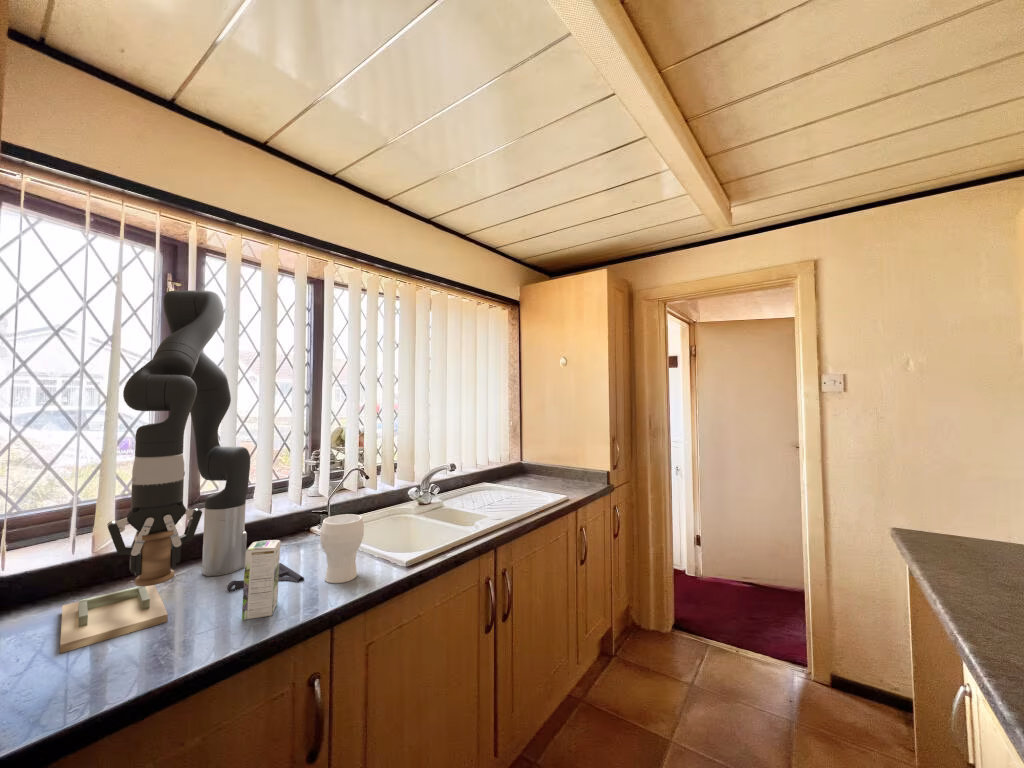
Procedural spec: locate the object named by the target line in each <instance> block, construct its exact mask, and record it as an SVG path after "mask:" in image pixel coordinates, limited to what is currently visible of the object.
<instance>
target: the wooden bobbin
mask: <svg viewBox="0 0 1024 768" xmlns="http://www.w3.org/2000/svg"><path fill="white" fill-rule="evenodd" d="M173 533H174V531H173V530H172V531H169V532H168V531H164V532H158V533H153V534H148V535H147V536H144V535H142V541H145V542H144V543H143V546H142V548H141V550H140V554H141V574H140V575H137V577H135V579H134V585H135V587H137V586H151V585H155V586H156V585H160V584H163V583H165V582H168V581H170V580H172V579H173V578H174V577H175V570H174V569H172V567H171V550H172V541H171V538H170V536H172V535H173ZM138 535H139V533H138V534H137V537H138Z"/></svg>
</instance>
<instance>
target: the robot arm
mask: <svg viewBox="0 0 1024 768" xmlns="http://www.w3.org/2000/svg"><path fill="white" fill-rule="evenodd" d="M222 301H223V300H221V297H220V296H219V295H218V294H217V292H214V291H211V290H168V291H167V292H165V294H164V297H163V309H164V310H163V311H164V314H165V318H166V322H167V325H168V328H169V331H170V334H169V335H168V336H167V337H165V339H163V340H162V342H161V343H160V344H159V345H158V348H157V350H156V351H155V354H153V357H152V359H151V360H150V361H148V362H147V363H146V364H145V365H143V366H142V367H140V368H139V369H138V370H137V371H135V372H134V373H133V374H132V375H131V376H130V378H129V379H128V380H127V381H126V383H125V385H124V389H123V393H122V396H123V397H122V398H123V401H124V403H125V405H127V406H128V407H129V409H132V410H134V411H138V412H170V414H169V416H168V417H167V418H166V419H165V420H163V421H159V422H155V423H154V422H153V423H148V424H144V425H141V426H139V427H138V428H137V429H136V431H135V439H134V441H135V443H134V459H133V465H132V474H131V492H130V493H131V497H130V510H129V512H128V514H127V515H126V517H124V518H122V519H118V520H116V521H115V520H111V521H109V522H108V523H107V530H108V533H109V535H110V538H111V540H112V543H113V545H114V547H115V550H116V553H117V555H119V556H124V555H127V556H129V571H130V573H131V574H134V576H135V577H136V576H137V577H138V576H139V575H140V574H141V554H140V550H141V548H142V546H143V543H144V542H145V541H142V535H144V536H147V535H148V534H153V533H158V532H164V531H168V532H169V531H172V530H173V531H174V533H173V535H172V536H170V538H171V541H172V550H171V568H175V567H176V566H177V564H179V563H180V561H181V557H182V556H181V551H182V549H181V548H182V546H183V545H184V544H185V543H187V542H191V541H193V539H194V536H195V533H196V532H197V529H198V526H199V523H200V519H201V517H202V514H203V513H204V515H203V516H204V517H203V538H202V539H203V541H202V543H203V544H202V561H201V562H202V564H201V575H203V576H206V577H207V576H209V577H215V576H216V577H217V576H223V575H228V574H231V573H234V572H237V571H239V570H241V569H245V555H246V551H247V541H248V540H247V539H248V537H247V536H248V532H247V531H246V530H245V526H246V525H245V524H246V501H247V500H246V499H247V495H248V490H249V480H250V472H251V455H250V452H249V450H248V448H246V447H244V446H221V444H220V442H219V441H220V440H219V427H220V424H221V423H222V421H223V419H224V417H225V416H226V414H227V411H228V410H229V408H230V406H231V405H230V404H231V402H232V396H231V390H230V386H229V380H228V377H227V375H226V373H225V372H224V370H223V369H222V368H221V367H219V366H218V365H217V363H215V361H213V359H211V358H210V357H209V356H208V355H207V354H206V353H205V352H204V351H203V350H204V349H205V347H206V346H207V344H208V343H209V342H210V340H211V339H212V338H213V337H214V335H215V334H216V332H217V331H218V330H219V329H220V327H221V325H222V323H223V321H224V315H225V313H224V306H223V305H224V304H223V302H222ZM189 416H190V417H191V423H192V427H193V433H194V434H193V435H194V440H195V443H194V444H195V453H196V462H197V468H198V471H199V475H200V476H201V478H203V479H204V480H206V481H210V482H211V481H212V482H213V481H215V482H216V481H217V482H218V481H219V482H221V481H225V486H224V488H223V489H222V490H220V491H218V492H215V493H212V494H209V495H207V496H206V498H205V500H204V512H203V510H201V509H200V508H198V507H196V508H186V506H185V504H184V487H185V485H184V484H185V483H184V482H185V481H184V480H185V478H184V477H185V474H186V471H185V460H184V439H185V430H186V427H187V422H188V418H189ZM184 515H185V516H186V517H185V519H187V524H186V527H185V529H184V532H183V534H182V535H179V533H178V532H179V531H178V530H177V528H176V525H177V524H178V523H179V521H180V520H181V519H182V518H183V517H184ZM128 524H129V525H130V526H132V527H133V528H134V529H135V530H136V532H135V535H134V538H133V541H132V543H131V544H130V545H126V544H125V542H124V539H123V537H122V534H121V533H123V532H124V531H125V529H126V526H127V525H128ZM138 533H139V535H138V537H137V534H138Z"/></svg>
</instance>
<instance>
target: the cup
mask: <svg viewBox="0 0 1024 768" xmlns="http://www.w3.org/2000/svg"><path fill="white" fill-rule="evenodd" d="M364 525H365V524H364V521H363V516H362V515H359V514H353V513H350V514H349V513H345V514H337V515H332V516H329V517H325V518H324V519H323V520H322V525H321V528H320V530H319V534H320V535H319V536H320V537H319V540H320V544H321V547H322V549H323V552H324V553H325V555H326V562H327V563H326V564H327V567H326V571H325V577H324V580H325V581H326V582H327V583H329V584H341V583H346V582H349V581H352V580H355V578H356V577H357V576H358V571H357V563H356V559H357V553H358V550H359V548H360V546H361V544H362V542H363V540H364V539H363V538H364V535H365V534H364V533H365V532H364V531H365V526H364Z"/></svg>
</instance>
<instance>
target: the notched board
mask: <svg viewBox="0 0 1024 768" xmlns="http://www.w3.org/2000/svg"><path fill="white" fill-rule="evenodd" d="M61 609H62V610H61V627H60V641H59V642H60V645H59V654H62V653H63V654H64V653H66V652H70V651H73V650H76V649H81V648H83V647H86V646H90V645H93V644H97V643H99V642H103V641H106V640H109V639H115V638H117V637H121V636H123V635H127V634H129V633H130V632H131V633H133V632H136V631H137V632H138V631H140V630H144V629H146V628H151V627H153V626H157V625H160V624H164V623H168V617H169V616H168V615H169V614H168V612H167V609H166V607H165V605H164V602H163V600H162V598H161V595H160V593H159V590H158V589H157V587H156V585H151V586H133V587H130V588H126V589H125V588H124V589H122V590H117V591H114V592H113V591H112V592H108V593H105V594H99V595H96V596H92V597H88V598H84V599H79V600H78V601H76V602H72V603H67V604H63V605H62V608H61Z"/></svg>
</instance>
